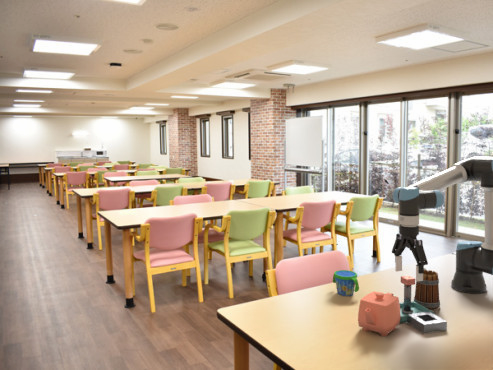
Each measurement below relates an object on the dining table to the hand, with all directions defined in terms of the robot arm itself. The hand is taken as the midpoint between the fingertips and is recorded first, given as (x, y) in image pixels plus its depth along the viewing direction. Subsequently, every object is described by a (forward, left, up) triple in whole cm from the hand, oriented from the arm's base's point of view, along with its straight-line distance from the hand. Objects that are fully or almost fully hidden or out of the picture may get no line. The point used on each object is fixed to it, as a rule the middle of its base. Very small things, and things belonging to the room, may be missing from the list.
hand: (408, 275), depth 170 cm
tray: (0, 0, -17) cm, 16 cm away
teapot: (+19, +9, -17) cm, 27 cm away
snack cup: (+13, -29, -17) cm, 36 cm away
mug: (-15, -8, -17) cm, 24 cm away
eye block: (0, +12, -16) cm, 20 cm away
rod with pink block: (0, 0, -16) cm, 16 cm away
